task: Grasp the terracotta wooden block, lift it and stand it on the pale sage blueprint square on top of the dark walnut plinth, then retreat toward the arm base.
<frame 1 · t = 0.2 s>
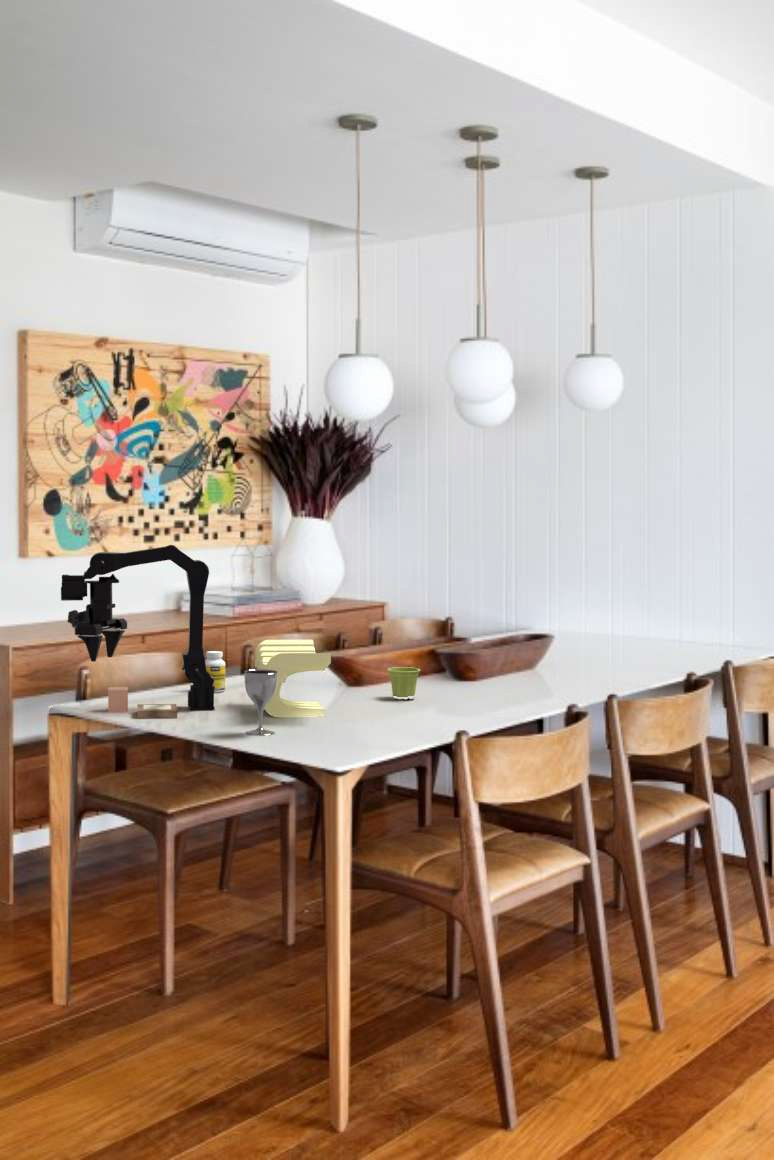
hand: (101, 659, 341), 13 cm above the table, fingers open, 9 cm apart
terracotta block: (118, 710, 341), on the table
pill bottle: (213, 692, 378), on the table
wine glass: (260, 733, 314), on the table
walnut plinth: (157, 714, 336), on the table
slatted curved stool: (290, 713, 344), on the table
plant pot: (403, 699, 371), on the table
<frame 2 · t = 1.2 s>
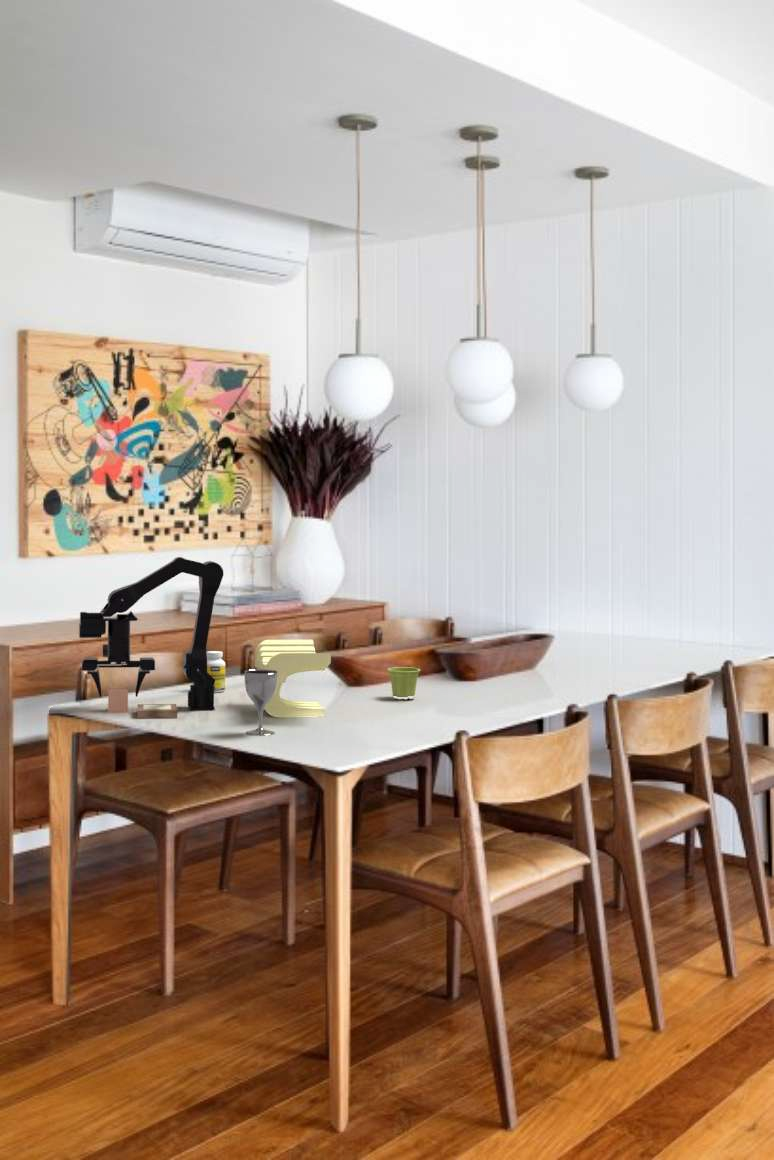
hand: (118, 696, 341), 4 cm above the table, fingers open, 9 cm apart
nothing on the table moved.
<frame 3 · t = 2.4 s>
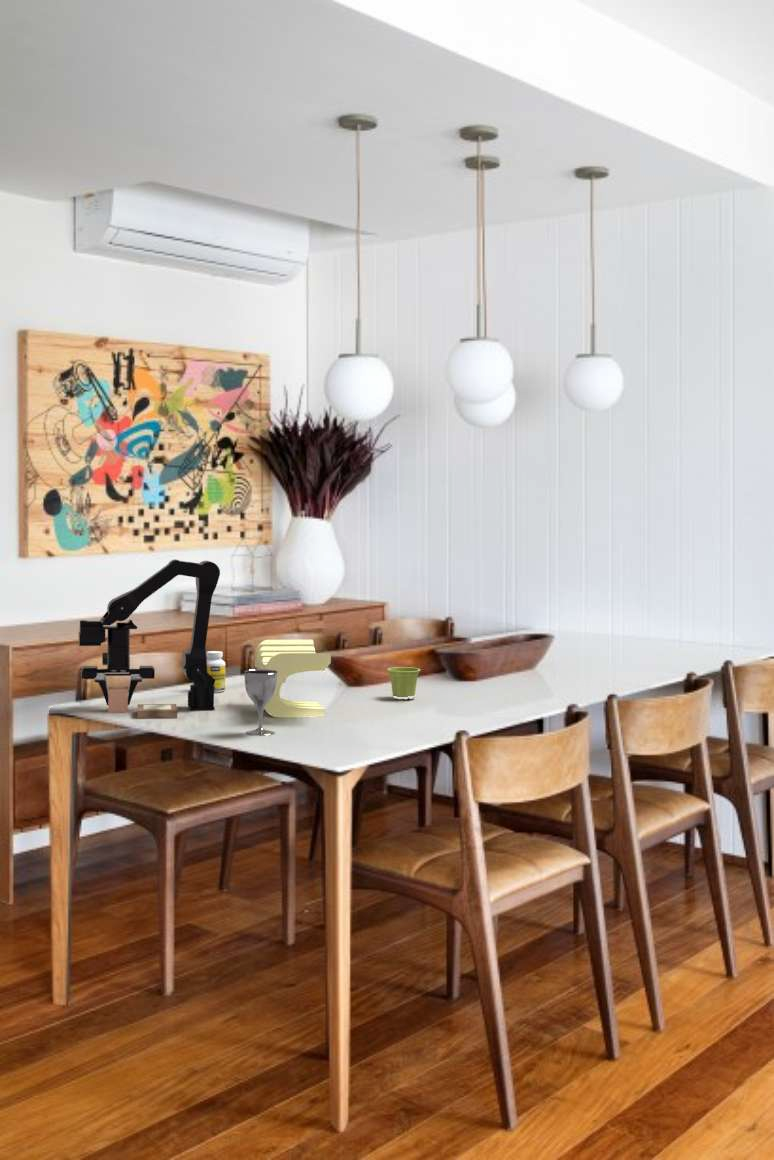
hand: (118, 704, 341), 2 cm above the table, fingers closed on terracotta block, 5 cm apart
terracotta block: (118, 710, 341), on the table, touching gripper
everything else where it was.
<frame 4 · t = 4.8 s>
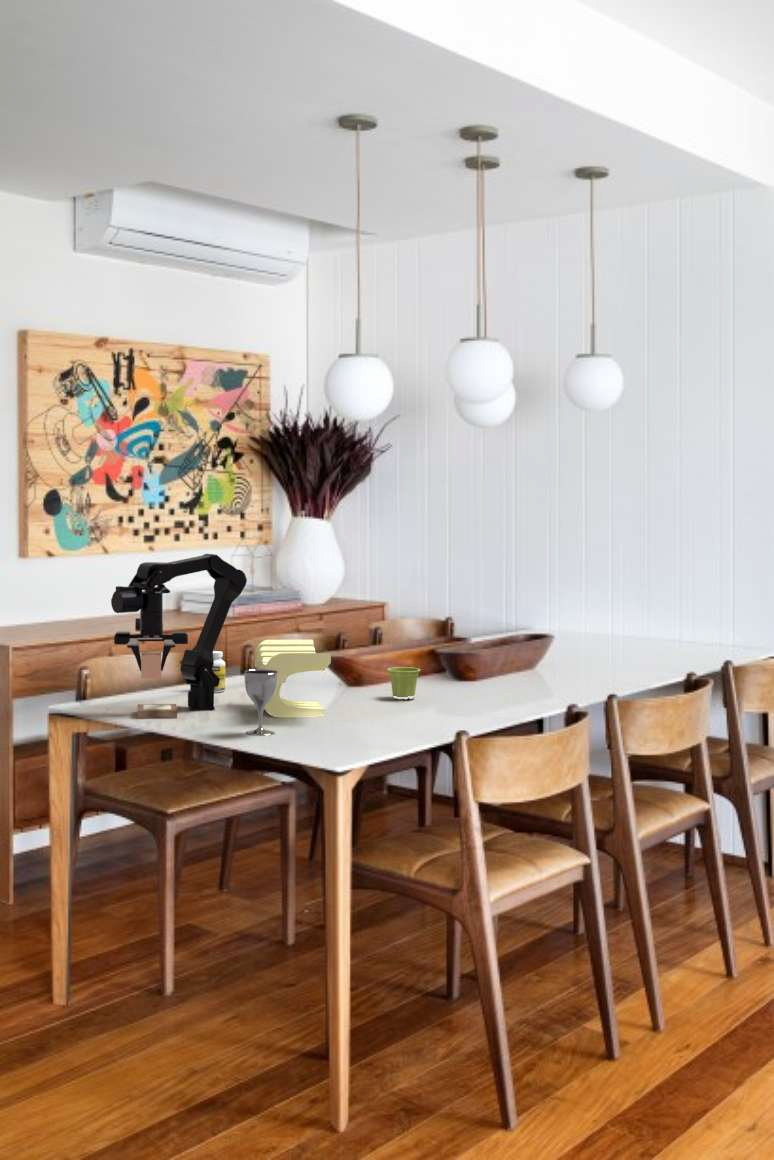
hand: (151, 670, 336), 11 cm above the table, fingers closed on terracotta block, 5 cm apart
terracotta block: (151, 676, 336), point 10 cm above the table, touching gripper
everything else where it was.
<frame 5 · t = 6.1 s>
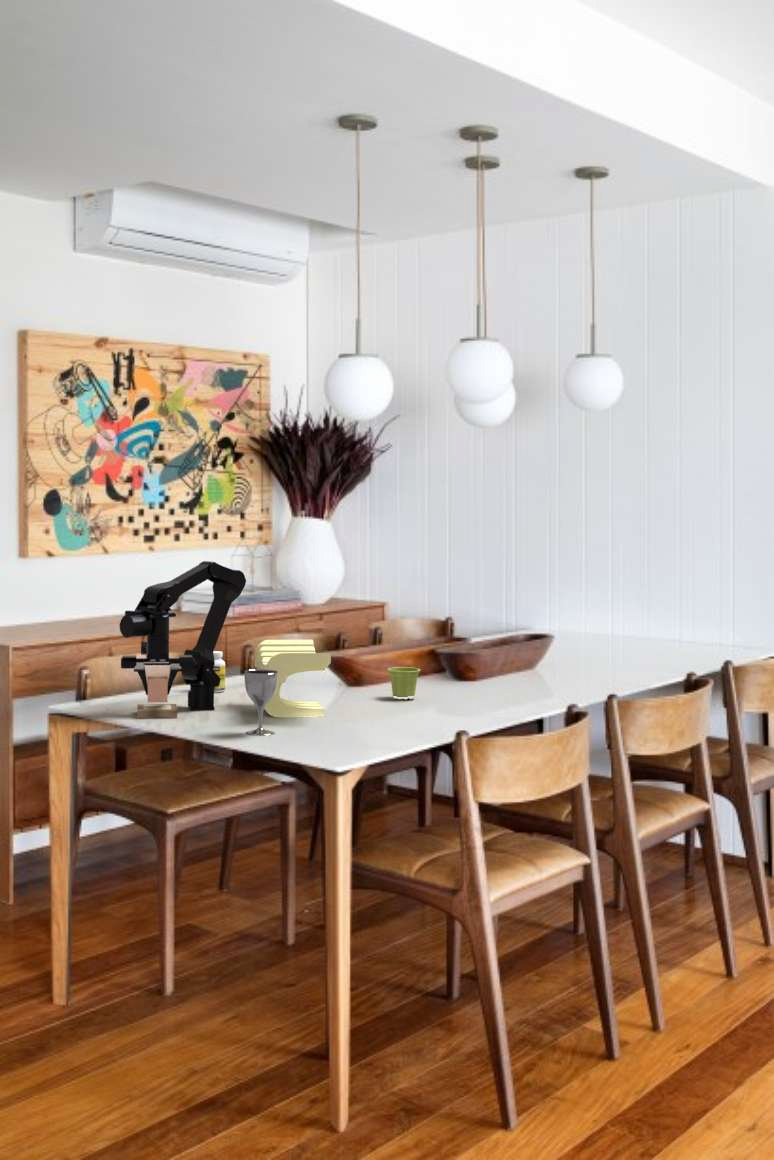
hand: (157, 694, 336), 5 cm above the table, fingers closed on terracotta block, 5 cm apart
terracotta block: (157, 700, 336), point 4 cm above the table, touching gripper
everything else where it was.
when the fingers open (5 cm above the table, at t = 7.0 s): terracotta block stays where it is, resting on walnut plinth.
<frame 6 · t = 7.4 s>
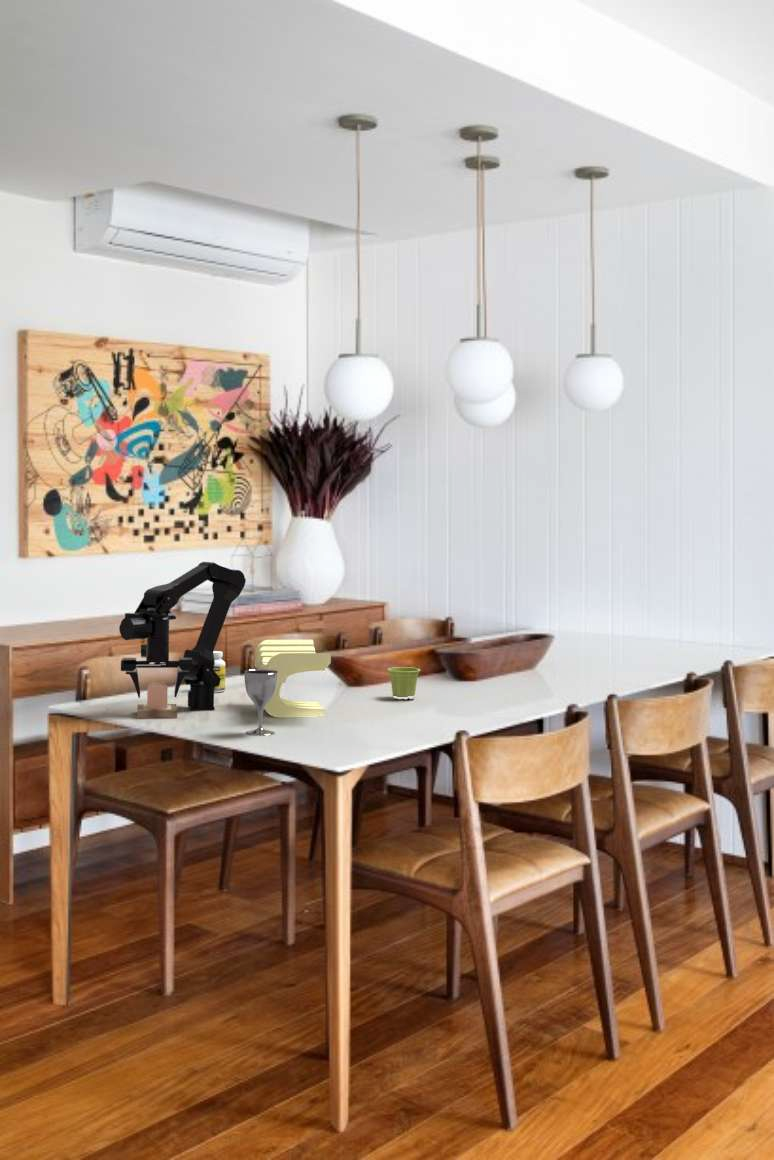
hand: (157, 697, 336), 5 cm above the table, fingers open, 9 cm apart
terracotta block: (157, 706, 336), point 2 cm above the table, touching walnut plinth
everything else where it was.
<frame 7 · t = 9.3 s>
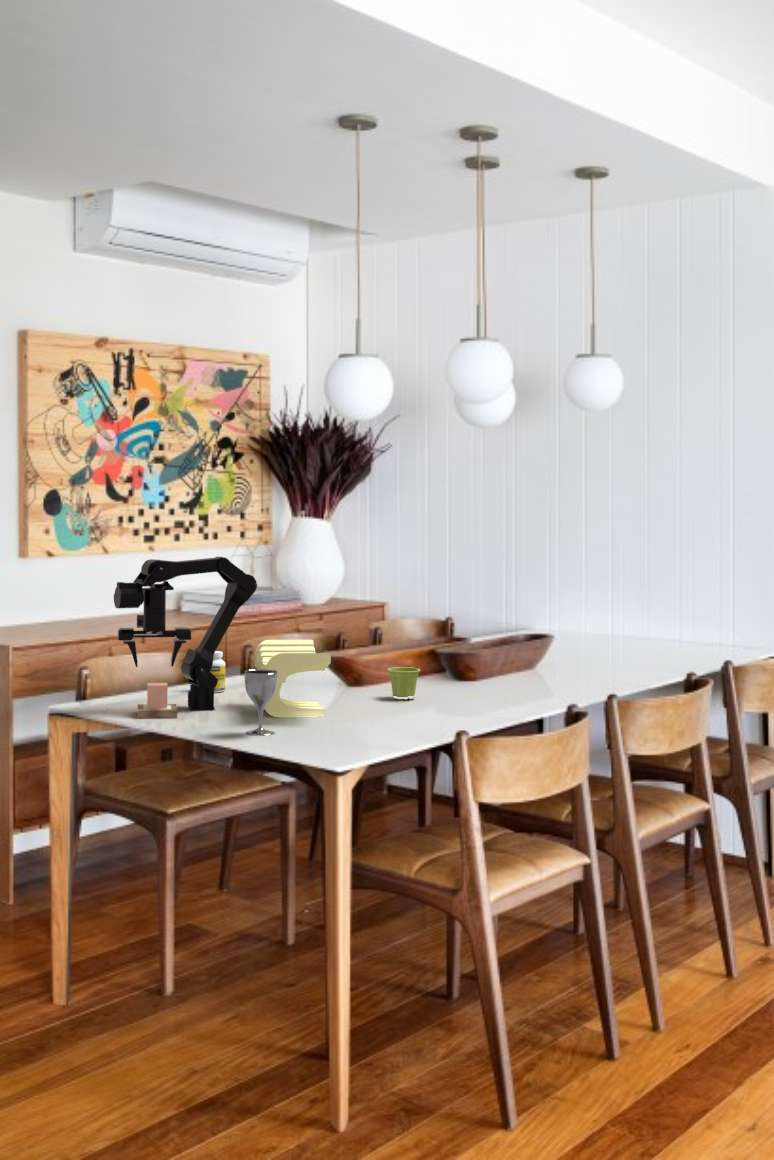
hand: (154, 666, 340), 12 cm above the table, fingers open, 9 cm apart
nothing on the table moved.
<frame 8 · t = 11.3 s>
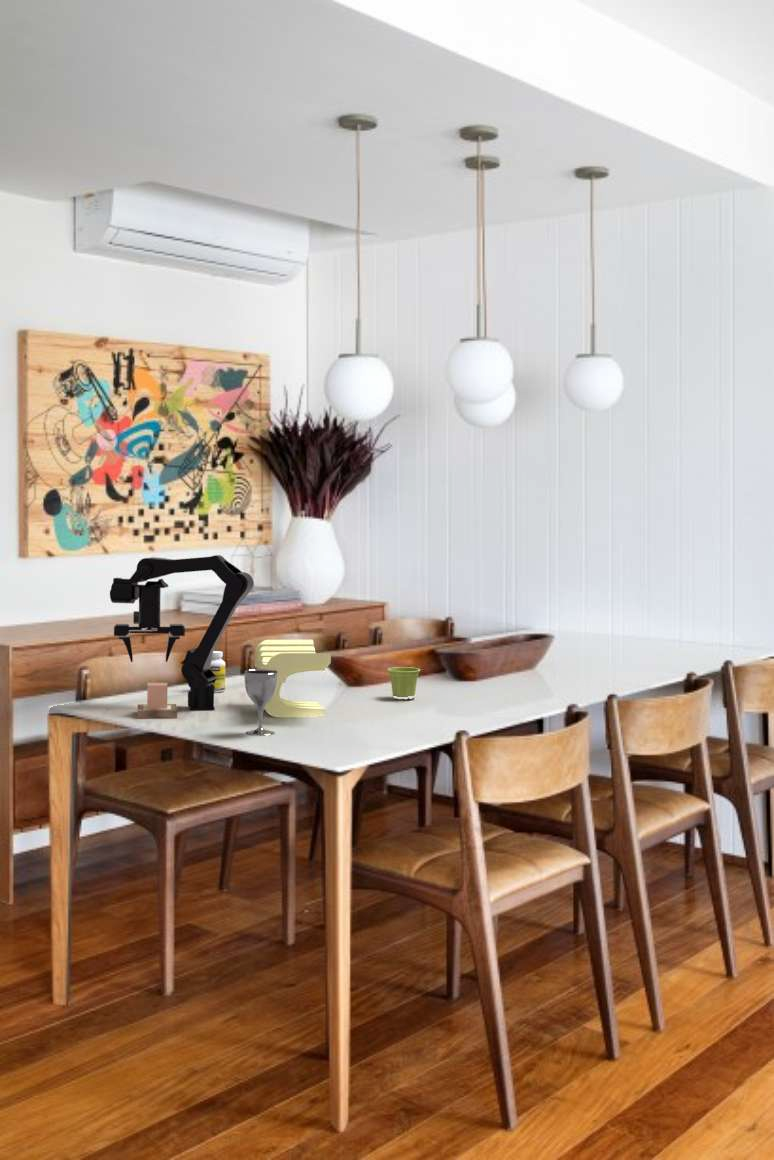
hand: (149, 661, 349), 12 cm above the table, fingers open, 9 cm apart
nothing on the table moved.
at the end: terracotta block 0.0 cm off-centre on the walnut plinth, point 2.1 cm above the walnut plinth's base; terracotta block tilted 0°; the gripper is holding nothing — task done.
